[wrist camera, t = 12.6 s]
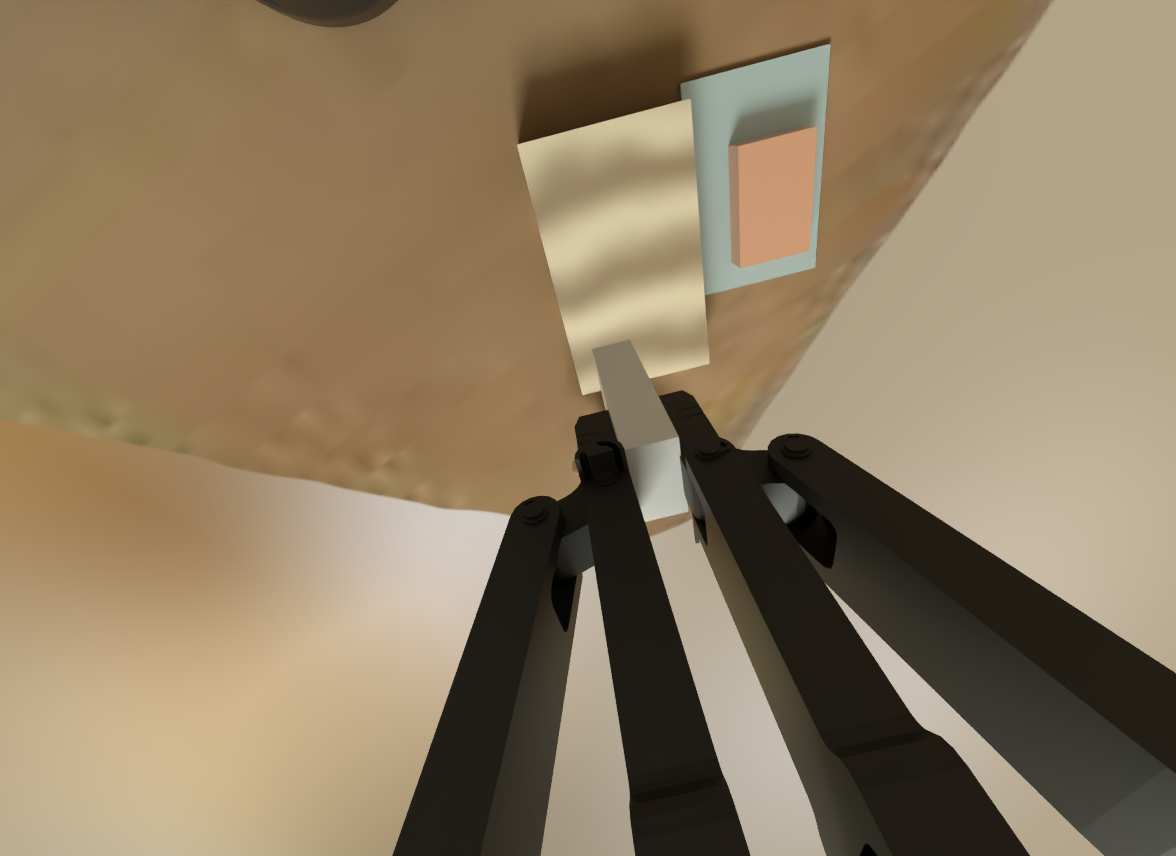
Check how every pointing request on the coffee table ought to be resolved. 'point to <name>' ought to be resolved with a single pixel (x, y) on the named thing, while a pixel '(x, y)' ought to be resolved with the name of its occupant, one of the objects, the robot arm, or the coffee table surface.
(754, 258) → the tile
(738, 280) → the mat
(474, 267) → the coffee table surface
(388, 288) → the coffee table surface
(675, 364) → the plate
